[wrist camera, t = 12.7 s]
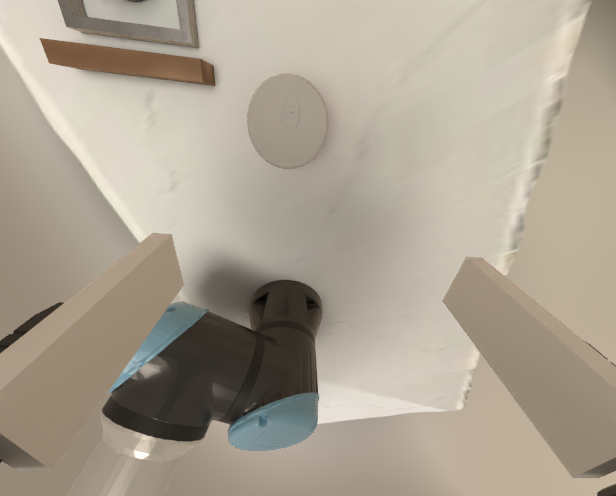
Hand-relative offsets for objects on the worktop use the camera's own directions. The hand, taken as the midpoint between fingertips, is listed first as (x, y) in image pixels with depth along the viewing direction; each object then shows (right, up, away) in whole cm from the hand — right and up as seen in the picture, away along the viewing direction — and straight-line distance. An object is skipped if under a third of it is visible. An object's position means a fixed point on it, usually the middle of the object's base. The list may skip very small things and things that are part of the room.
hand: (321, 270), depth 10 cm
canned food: (-3, +18, +20) cm, 28 cm away
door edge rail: (-20, +23, +17) cm, 35 cm away
